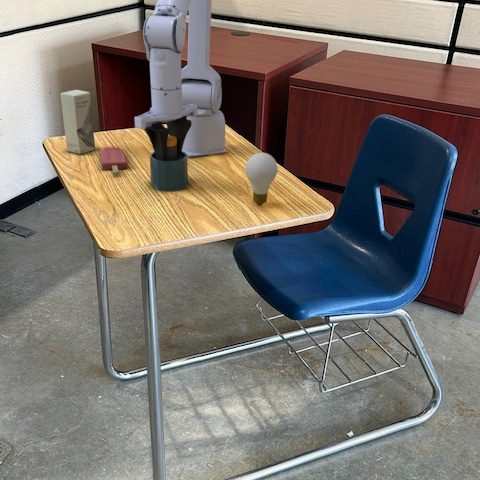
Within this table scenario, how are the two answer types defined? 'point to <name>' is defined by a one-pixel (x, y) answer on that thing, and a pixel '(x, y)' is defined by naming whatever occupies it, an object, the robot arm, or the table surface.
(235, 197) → the table surface
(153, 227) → the table surface
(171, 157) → the glue stick
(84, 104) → the box
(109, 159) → the popsicle
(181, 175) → the tumbler
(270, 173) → the light bulb
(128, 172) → the table surface
